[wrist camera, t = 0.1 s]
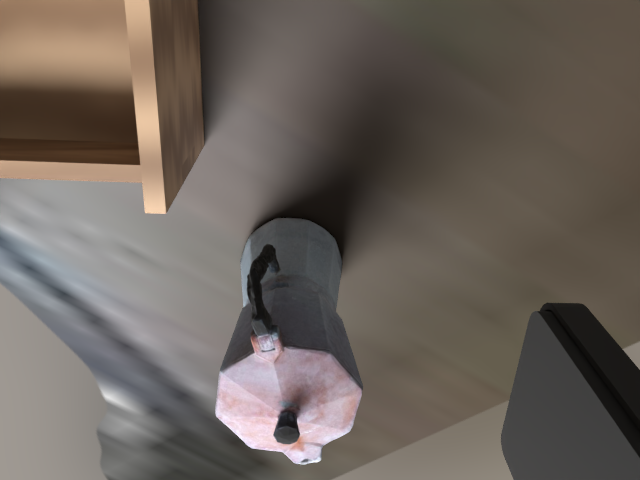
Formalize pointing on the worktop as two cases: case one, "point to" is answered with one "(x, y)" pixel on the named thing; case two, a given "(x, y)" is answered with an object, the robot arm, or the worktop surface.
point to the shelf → (101, 92)
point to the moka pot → (289, 345)
